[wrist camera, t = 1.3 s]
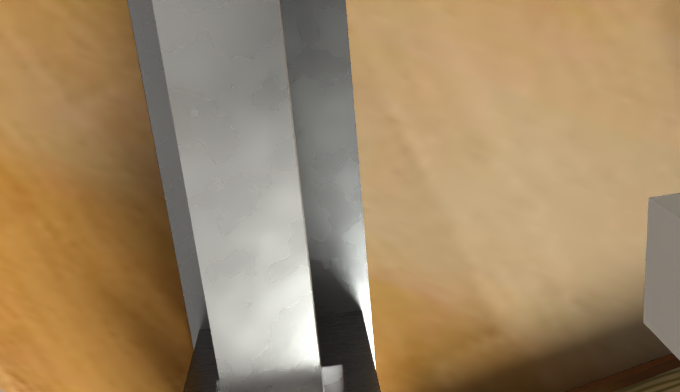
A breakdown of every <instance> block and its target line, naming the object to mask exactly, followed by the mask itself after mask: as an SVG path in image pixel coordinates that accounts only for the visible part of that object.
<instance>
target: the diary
mask: <svg viewBox="0 0 680 392" xmlns="http://www.w3.org/2000/svg"><path fill="white" fill-rule="evenodd" d="M567 392H680V360H679V359H678V358H677V357H676V356H675V355H674V354H673V353H672V354H669V355H666V356H663V357H661V358H658V359H655V360H652V361H650V362H647V363H644V364H642V365H639V366H636V367H633V368H631V369H628V370H625V371H622V372H620V373H617V374H614V375H611V376H609V377H606V378H603V379H600V380H598V381H595V382H592V383H589V384H587V385H584V386H581V387H578V388H576V389H573V390H570V391H567Z"/></svg>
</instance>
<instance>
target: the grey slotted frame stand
mask: <svg viewBox="0 0 680 392" xmlns="http://www.w3.org/2000/svg"><path fill="white" fill-rule="evenodd" d="M127 1H128V7H129V12H130V17H131V22H132V28H133V33H134V38H135V43H136V49H137V54H138V59H139V64H140V70H141V75H142V80H143V85H144V91H145V96H146V101H147V106H148V112H149V117H150V122H151V127H152V133H153V138H154V143H155V148H156V154H157V159H158V164H159V169H160V175H161V180H162V185H163V191H164V196H165V201H166V206H167V212H168V217H169V222H170V227H171V233H172V238H173V243H174V248H175V254H176V259H177V264H178V269H179V275H180V280H181V285H182V290H183V296H184V301H185V306H186V311H187V317H188V322H189V327H190V332H191V338H192V343H193V348H194V352H193V356H192V360H191V364H190V367H189V371H188V375H187V379H186V383H185V387H184V391H183V392H222V391H221V386H220V380H219V374H218V369H217V363H216V358H215V352H214V346H213V341H212V335H211V329H210V324H209V318H208V313H207V307H206V301H205V296H204V290H203V285H202V279H201V273H200V268H199V262H198V256H197V251H196V245H195V240H194V234H193V228H192V223H191V217H190V212H189V206H188V200H187V195H186V189H185V184H184V178H183V172H182V167H181V161H180V155H179V150H178V144H177V139H176V133H175V127H174V122H173V116H172V111H171V105H170V99H169V94H168V88H167V82H166V77H165V71H164V66H163V60H162V54H161V49H160V43H159V38H158V32H157V26H156V21H155V15H154V9H153V4H152V0H127ZM280 9H281V18H282V26H283V35H284V44H285V52H286V61H287V70H288V79H289V87H290V96H291V105H292V113H293V122H294V131H295V139H296V148H297V157H298V165H299V174H300V183H301V192H302V200H303V209H304V218H305V226H306V235H307V244H308V252H309V261H310V270H311V278H312V287H313V296H314V305H315V313H316V322H317V331H318V339H319V348H320V357H321V365H322V374H323V383H324V391H325V392H381V391H380V386H379V382H378V378H377V373H376V366H375V353H374V341H373V329H372V317H371V305H370V293H369V281H368V269H367V256H366V244H365V232H364V220H363V208H362V196H361V184H360V172H359V159H358V147H357V135H356V123H355V111H354V99H353V87H352V75H351V62H350V50H349V38H348V26H347V14H346V2H345V0H280Z"/></svg>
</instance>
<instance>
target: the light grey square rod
mask: <svg viewBox="0 0 680 392" xmlns="http://www.w3.org/2000/svg"><path fill="white" fill-rule="evenodd" d="M152 4H153V9H154V15H155V21H156V26H157V32H158V38H159V43H160V49H161V54H162V60H163V66H164V71H165V77H166V82H167V88H168V94H169V99H170V105H171V111H172V116H173V122H174V127H175V133H176V139H177V144H178V150H179V155H180V161H181V167H182V172H183V178H184V184H185V189H186V195H187V200H188V206H189V212H190V217H191V223H192V228H193V234H194V240H195V245H196V251H197V256H198V262H199V268H200V273H201V279H202V285H203V290H204V296H205V301H206V307H207V313H208V318H209V324H210V329H211V335H212V341H213V346H214V352H215V358H216V363H217V369H218V374H219V380H220V386H221V391H222V392H325V391H324V383H323V374H322V365H321V357H320V348H319V339H318V331H317V322H316V313H315V305H314V296H313V287H312V278H311V270H310V261H309V252H308V244H307V235H306V226H305V218H304V209H303V200H302V192H301V183H300V174H299V165H298V157H297V148H296V139H295V131H294V122H293V113H292V105H291V96H290V87H289V79H288V70H287V61H286V52H285V44H284V35H283V26H282V18H281V9H280V0H152Z"/></svg>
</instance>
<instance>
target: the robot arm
mask: <svg viewBox="0 0 680 392" xmlns="http://www.w3.org/2000/svg"><path fill="white" fill-rule="evenodd" d="M643 323H644V324H645V325H646V326H647V327H648V328H649V329H650V330H651V331H652V332H653V333H654V334H655V335H656V336H657V337H658V338H659V339H660V341H661V342H662V343H663V344H664V345H665V346H666V347H667V348H668V349H669V350H670V351H671V352H672V353H673V354H674V355H675V356H676V357H677V358H678V359H679V360H680V193H677V194H670V195H663V196H657V197H650V198H649V203H648V225H647V247H646V269H645V291H644V313H643Z"/></svg>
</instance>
